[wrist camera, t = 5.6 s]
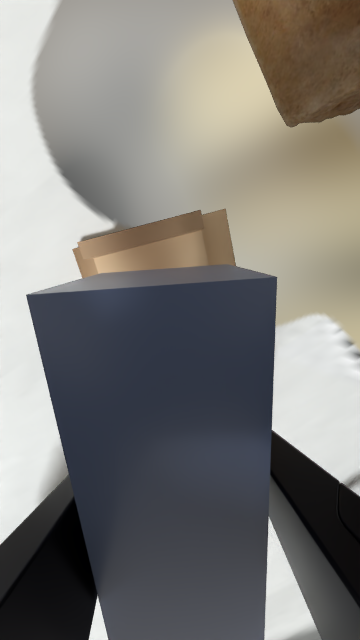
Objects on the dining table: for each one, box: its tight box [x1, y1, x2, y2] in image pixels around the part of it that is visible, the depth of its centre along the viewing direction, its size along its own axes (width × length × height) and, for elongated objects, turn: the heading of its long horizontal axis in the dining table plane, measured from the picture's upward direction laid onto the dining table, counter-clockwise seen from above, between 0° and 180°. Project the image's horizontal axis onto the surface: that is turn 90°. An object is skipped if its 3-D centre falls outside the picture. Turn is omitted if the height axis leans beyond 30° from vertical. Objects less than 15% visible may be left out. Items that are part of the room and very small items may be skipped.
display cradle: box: [72, 209, 236, 278], centre depth 16 cm, size 10×15×5 cm, turn 14°
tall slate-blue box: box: [26, 264, 277, 640], centre depth 7 cm, size 11×4×4 cm, turn 4°
